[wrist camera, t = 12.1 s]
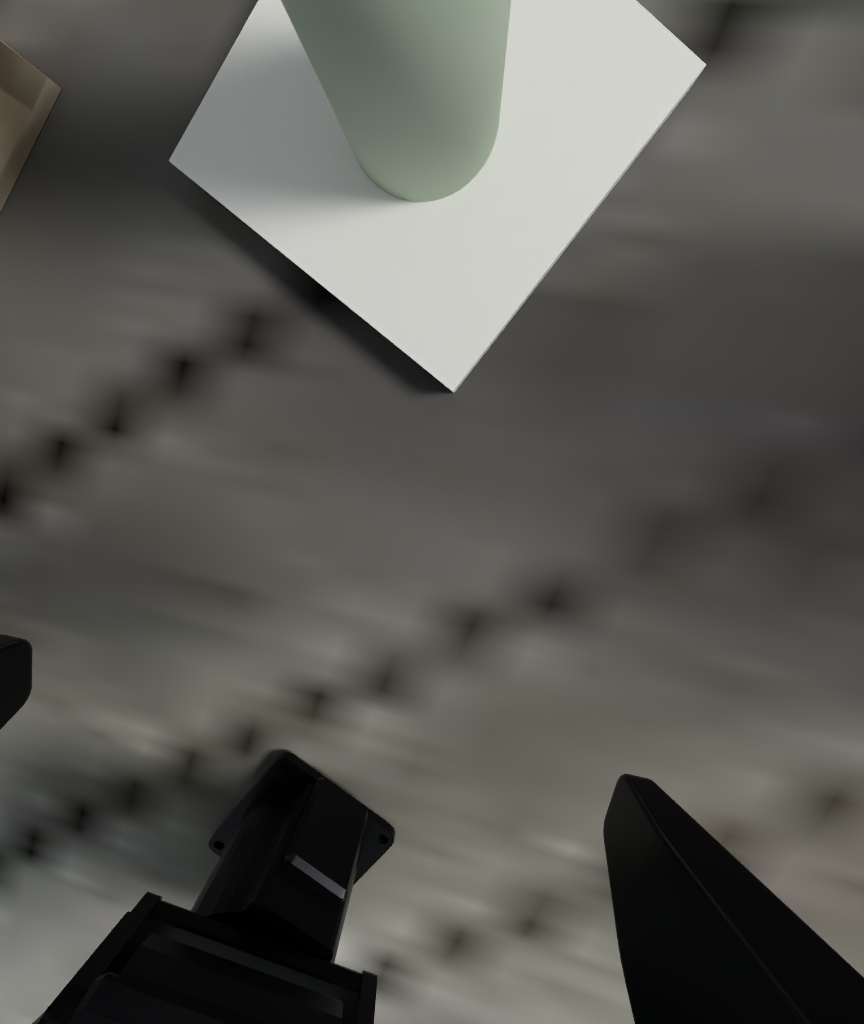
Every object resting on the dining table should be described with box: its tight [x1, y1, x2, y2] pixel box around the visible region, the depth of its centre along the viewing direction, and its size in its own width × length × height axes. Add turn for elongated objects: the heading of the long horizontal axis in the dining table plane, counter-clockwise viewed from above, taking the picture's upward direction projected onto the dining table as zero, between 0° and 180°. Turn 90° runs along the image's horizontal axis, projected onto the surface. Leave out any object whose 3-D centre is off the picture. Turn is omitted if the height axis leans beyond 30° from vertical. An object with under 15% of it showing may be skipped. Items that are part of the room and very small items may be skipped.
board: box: [169, 0, 706, 393], centre depth 17 cm, size 12×12×2 cm
